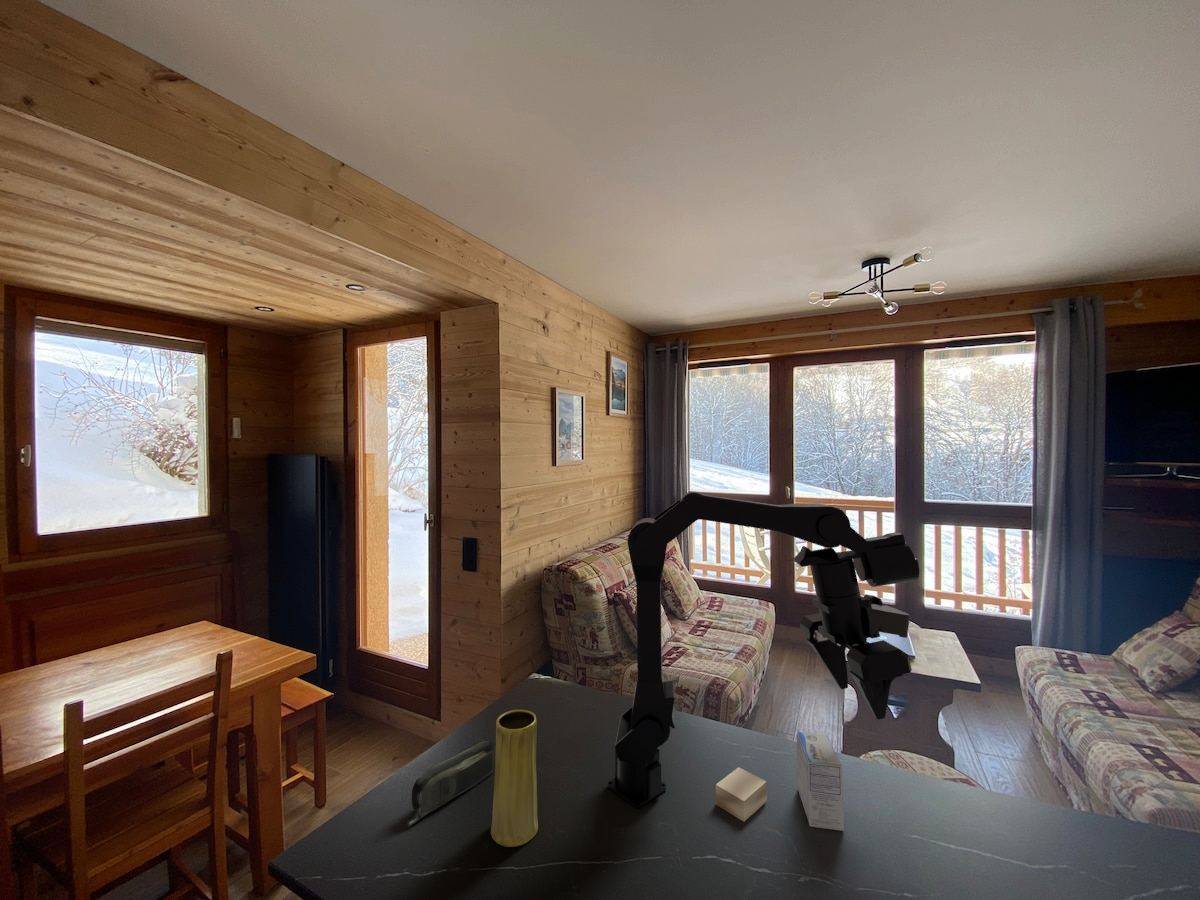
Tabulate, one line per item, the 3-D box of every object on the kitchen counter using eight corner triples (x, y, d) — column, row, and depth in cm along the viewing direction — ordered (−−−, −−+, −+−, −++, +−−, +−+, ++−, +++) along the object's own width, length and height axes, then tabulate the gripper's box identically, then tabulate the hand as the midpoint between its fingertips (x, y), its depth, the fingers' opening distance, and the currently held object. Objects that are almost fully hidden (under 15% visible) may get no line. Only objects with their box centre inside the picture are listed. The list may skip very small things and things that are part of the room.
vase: (545, 819, 65) (547, 712, 65) (524, 854, 59) (526, 735, 60) (506, 808, 67) (507, 704, 67) (481, 840, 61) (483, 726, 62)
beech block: (715, 806, 68) (715, 784, 68) (738, 787, 72) (738, 767, 72) (744, 823, 65) (744, 801, 65) (766, 803, 69) (766, 781, 69)
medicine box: (844, 833, 63) (844, 766, 63) (808, 827, 64) (807, 761, 64) (828, 793, 71) (828, 733, 71) (796, 789, 72) (796, 730, 72)
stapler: (485, 734, 77) (400, 782, 65) (498, 741, 75) (413, 791, 63) (484, 767, 77) (398, 821, 64) (497, 774, 75) (412, 830, 63)
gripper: (938, 596, 59) (967, 724, 59) (856, 569, 78) (877, 665, 77) (851, 613, 59) (879, 742, 58) (789, 582, 78) (810, 679, 77)
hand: (861, 702), depth 68 cm, fingers open, 9 cm apart
